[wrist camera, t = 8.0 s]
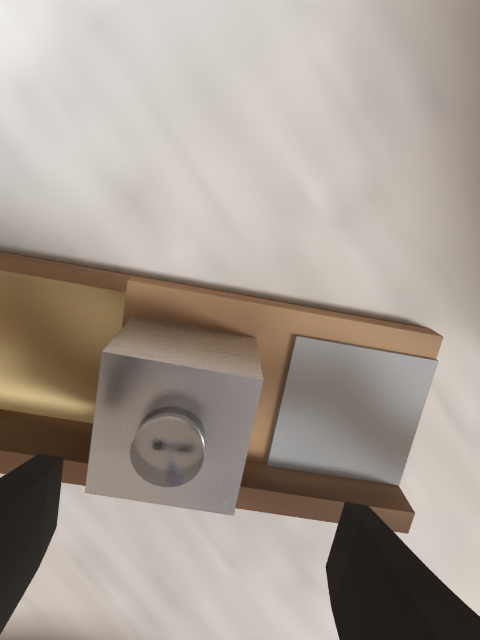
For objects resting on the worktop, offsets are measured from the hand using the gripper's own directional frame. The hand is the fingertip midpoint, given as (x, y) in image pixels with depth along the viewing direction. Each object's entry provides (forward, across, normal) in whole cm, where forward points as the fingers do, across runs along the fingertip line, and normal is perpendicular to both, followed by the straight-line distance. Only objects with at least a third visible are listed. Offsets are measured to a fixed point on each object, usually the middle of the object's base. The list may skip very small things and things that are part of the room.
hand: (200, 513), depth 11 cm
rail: (+9, +3, 0) cm, 9 cm away
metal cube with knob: (+8, +1, 0) cm, 8 cm away
